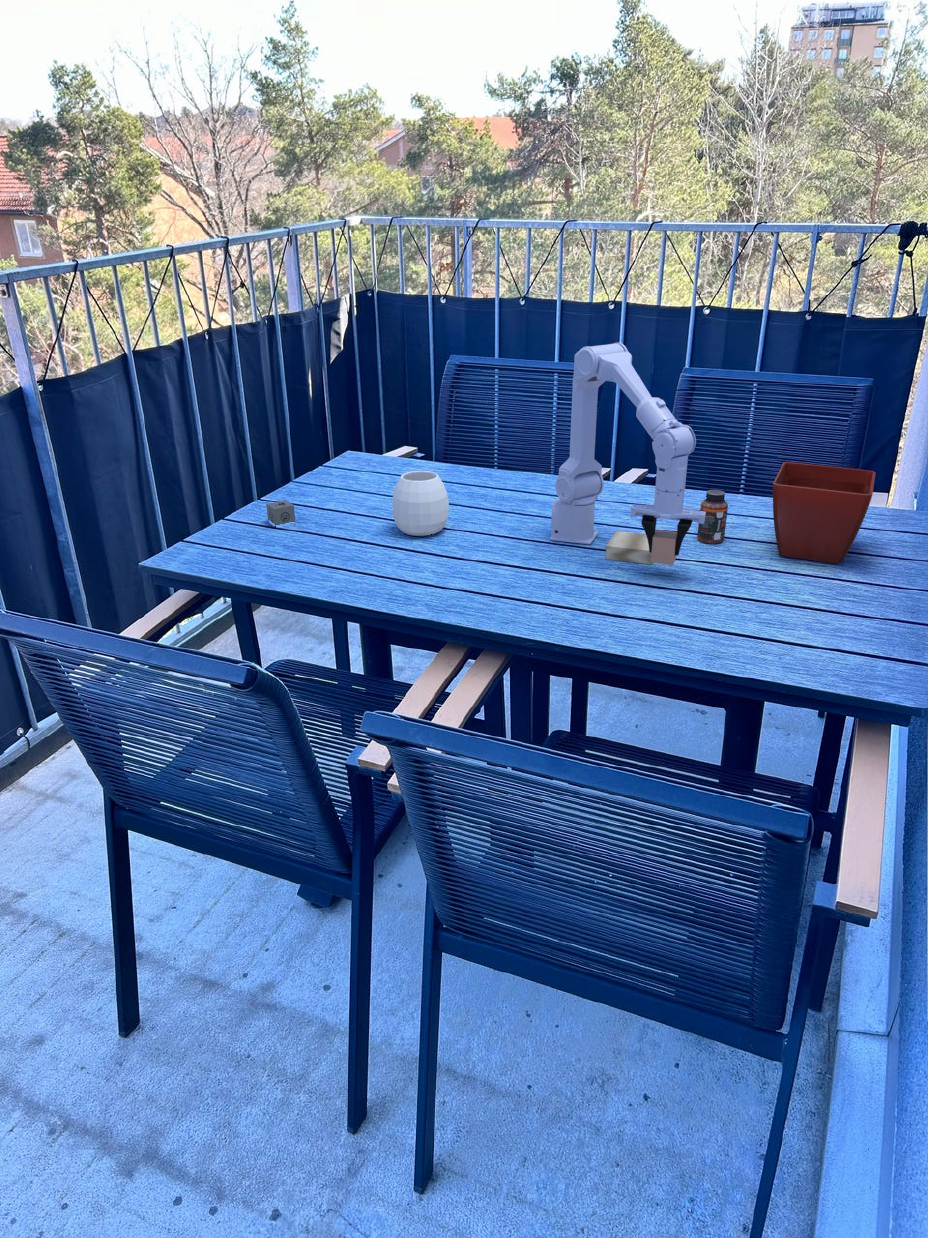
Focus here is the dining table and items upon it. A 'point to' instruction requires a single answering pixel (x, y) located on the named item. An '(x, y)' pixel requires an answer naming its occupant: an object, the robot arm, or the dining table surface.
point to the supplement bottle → (713, 517)
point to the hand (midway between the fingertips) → (664, 552)
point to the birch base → (629, 548)
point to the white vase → (420, 503)
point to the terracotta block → (664, 547)
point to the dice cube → (280, 512)
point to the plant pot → (819, 510)
